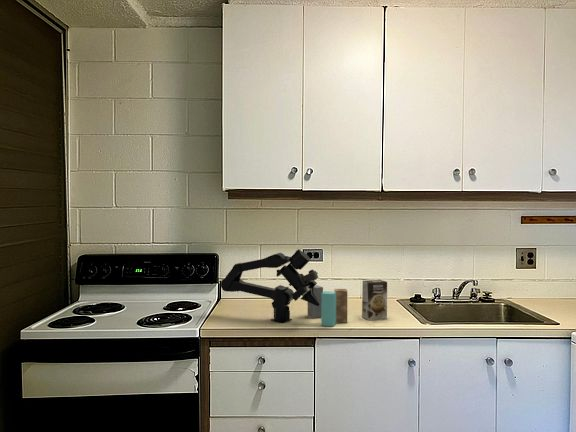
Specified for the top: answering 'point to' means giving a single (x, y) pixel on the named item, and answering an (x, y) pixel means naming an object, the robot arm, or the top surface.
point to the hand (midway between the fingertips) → (318, 305)
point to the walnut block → (341, 305)
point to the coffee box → (374, 299)
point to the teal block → (328, 308)
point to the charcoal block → (313, 309)
